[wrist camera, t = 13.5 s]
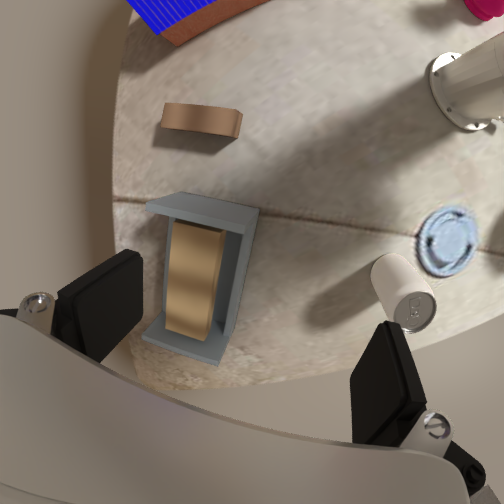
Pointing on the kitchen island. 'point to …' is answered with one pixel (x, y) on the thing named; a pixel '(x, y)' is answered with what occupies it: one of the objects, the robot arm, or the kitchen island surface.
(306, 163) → the kitchen island surface
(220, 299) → the bed
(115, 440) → the robot arm
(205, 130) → the block
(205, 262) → the board
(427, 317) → the can
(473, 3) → the pepper mill
